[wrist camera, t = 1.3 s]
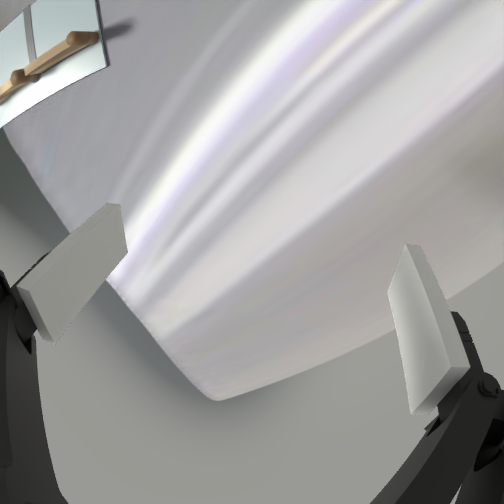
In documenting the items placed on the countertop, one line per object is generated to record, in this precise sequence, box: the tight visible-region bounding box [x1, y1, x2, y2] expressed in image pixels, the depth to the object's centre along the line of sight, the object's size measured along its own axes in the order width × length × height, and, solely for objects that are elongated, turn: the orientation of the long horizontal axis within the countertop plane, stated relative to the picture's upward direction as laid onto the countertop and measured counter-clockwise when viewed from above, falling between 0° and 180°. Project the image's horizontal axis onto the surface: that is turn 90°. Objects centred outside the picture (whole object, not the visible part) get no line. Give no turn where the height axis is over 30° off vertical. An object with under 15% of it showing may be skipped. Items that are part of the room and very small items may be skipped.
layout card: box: [0, 0, 108, 128], centre depth 30 cm, size 18×28×1 cm, turn 100°
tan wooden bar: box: [0, 79, 27, 103], centre depth 32 cm, size 12×2×4 cm, turn 100°
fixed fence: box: [10, 31, 99, 85], centre depth 29 cm, size 2×15×5 cm, turn 100°
